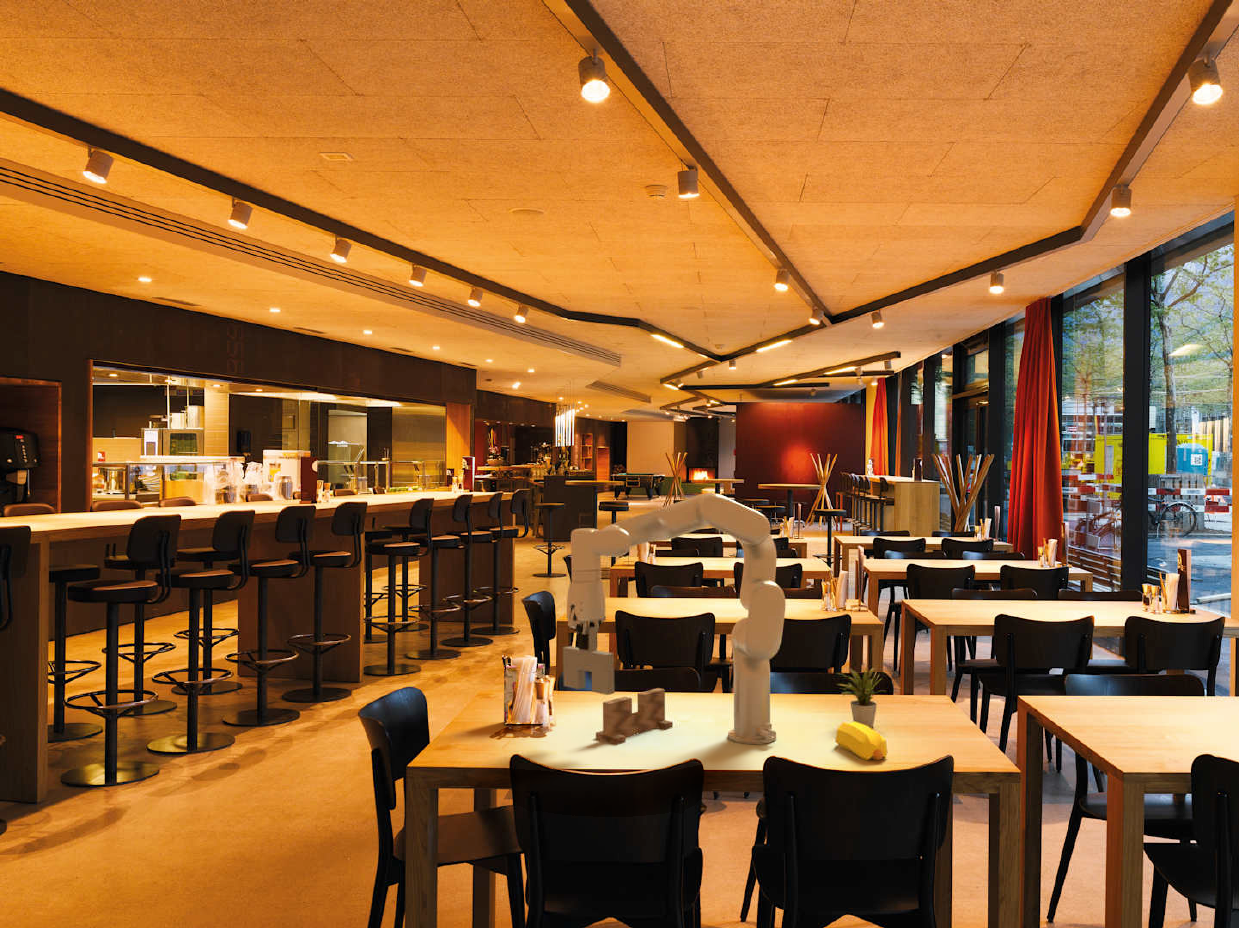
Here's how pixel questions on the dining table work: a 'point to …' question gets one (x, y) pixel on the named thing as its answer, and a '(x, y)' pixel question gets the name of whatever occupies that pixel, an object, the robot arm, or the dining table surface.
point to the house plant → (863, 697)
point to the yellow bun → (861, 741)
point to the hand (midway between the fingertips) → (587, 647)
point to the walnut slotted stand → (633, 716)
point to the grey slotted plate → (589, 666)
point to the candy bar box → (511, 683)
